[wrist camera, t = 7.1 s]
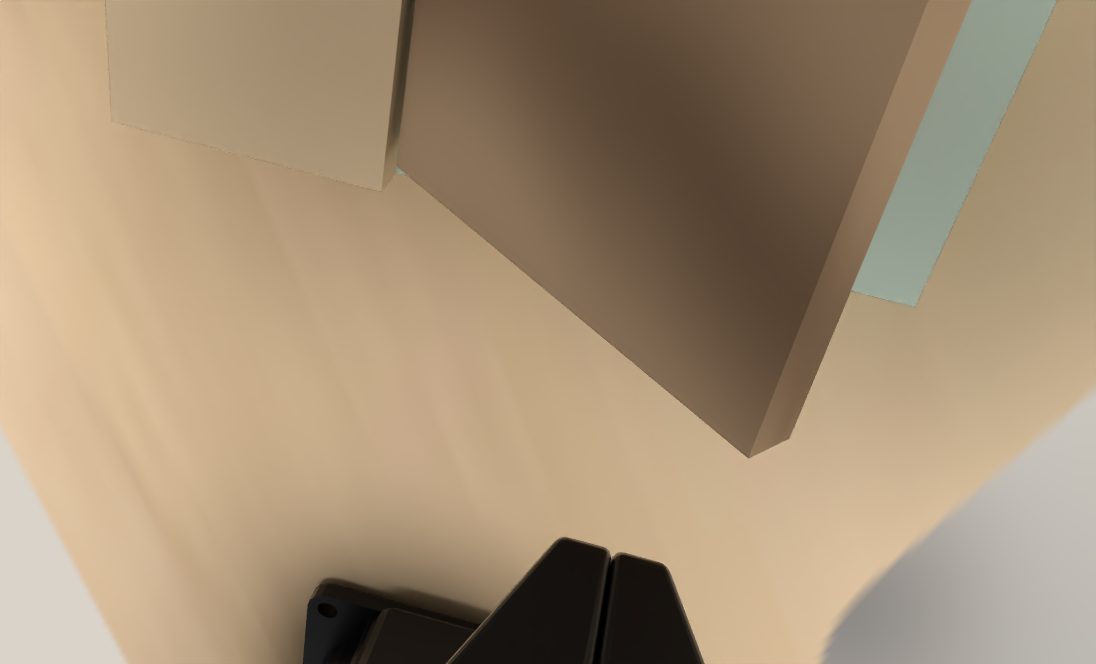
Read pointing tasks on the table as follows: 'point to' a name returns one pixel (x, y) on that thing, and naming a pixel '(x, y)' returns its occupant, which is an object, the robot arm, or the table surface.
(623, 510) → the table surface
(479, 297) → the table surface
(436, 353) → the table surface
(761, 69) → the plank
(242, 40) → the underlay base
